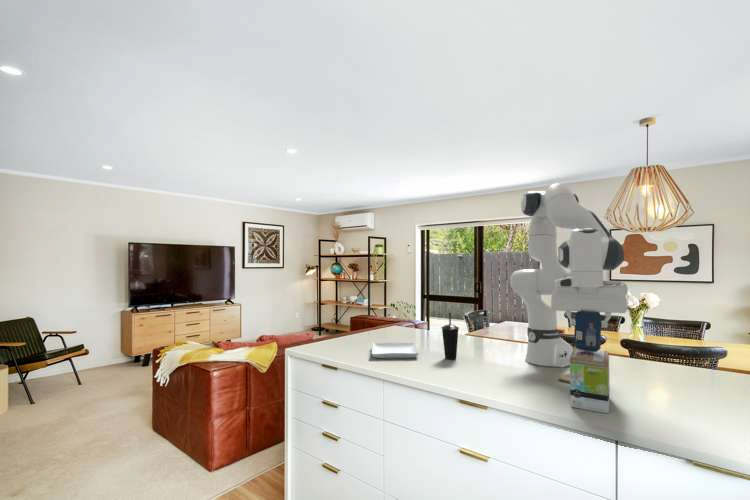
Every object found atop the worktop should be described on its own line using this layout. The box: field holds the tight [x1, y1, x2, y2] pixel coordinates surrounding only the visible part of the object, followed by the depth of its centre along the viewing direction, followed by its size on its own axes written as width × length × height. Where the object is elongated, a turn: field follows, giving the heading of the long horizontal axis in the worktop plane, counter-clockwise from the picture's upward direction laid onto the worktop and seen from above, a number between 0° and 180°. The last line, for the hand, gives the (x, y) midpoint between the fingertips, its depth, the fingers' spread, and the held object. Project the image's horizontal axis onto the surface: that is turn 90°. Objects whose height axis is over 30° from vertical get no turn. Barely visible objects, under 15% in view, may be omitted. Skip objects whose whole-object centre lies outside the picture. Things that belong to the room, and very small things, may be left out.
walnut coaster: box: [557, 372, 570, 384], centre depth 134 cm, size 10×10×1 cm
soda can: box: [573, 310, 603, 352], centre depth 114 cm, size 7×7×12 cm
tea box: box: [569, 347, 611, 414], centre depth 114 cm, size 15×10×15 cm, turn 148°
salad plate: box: [371, 342, 420, 359], centre depth 177 cm, size 21×21×3 cm
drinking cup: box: [441, 312, 460, 361], centre depth 167 cm, size 8×8×20 cm
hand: (588, 326), depth 114 cm, fingers closed on soda can, 7 cm apart
